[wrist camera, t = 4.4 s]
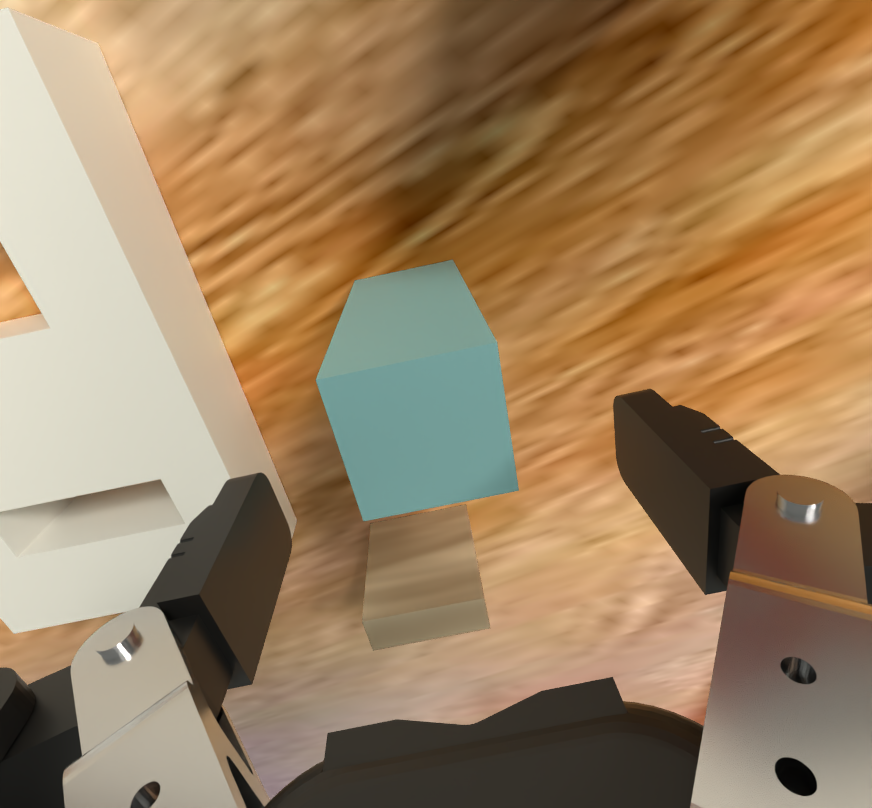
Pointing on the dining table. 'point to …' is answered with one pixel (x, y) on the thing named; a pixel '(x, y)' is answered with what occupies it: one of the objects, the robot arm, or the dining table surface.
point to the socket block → (99, 350)
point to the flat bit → (422, 579)
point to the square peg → (417, 394)
